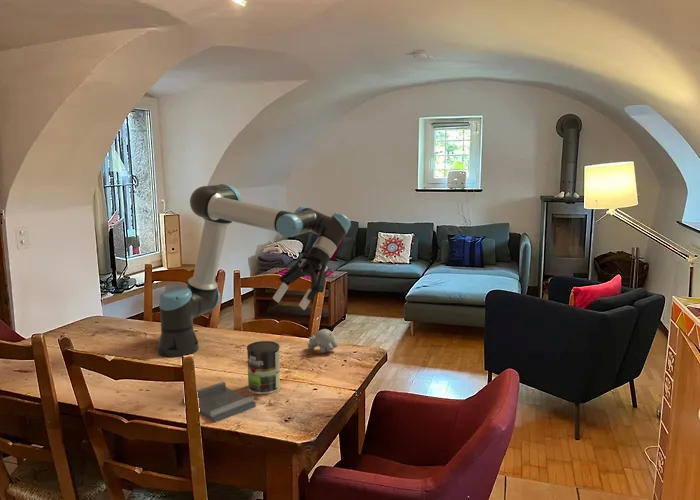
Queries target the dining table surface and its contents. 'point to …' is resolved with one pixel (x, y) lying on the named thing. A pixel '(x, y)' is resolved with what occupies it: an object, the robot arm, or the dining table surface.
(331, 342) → the round bodied animal figurine
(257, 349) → the coffee can
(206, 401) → the plate
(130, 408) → the dining table surface
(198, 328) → the dining table surface
